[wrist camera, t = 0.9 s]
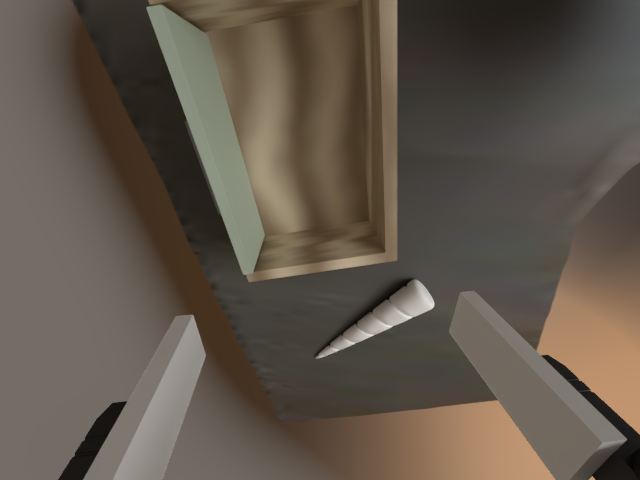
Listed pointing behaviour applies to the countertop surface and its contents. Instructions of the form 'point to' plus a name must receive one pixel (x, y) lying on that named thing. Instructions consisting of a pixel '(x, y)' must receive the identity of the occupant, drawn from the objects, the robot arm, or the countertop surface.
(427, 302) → the unicorn horn
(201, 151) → the pale green panel
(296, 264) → the box
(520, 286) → the countertop surface
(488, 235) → the countertop surface
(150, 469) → the robot arm
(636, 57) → the countertop surface
